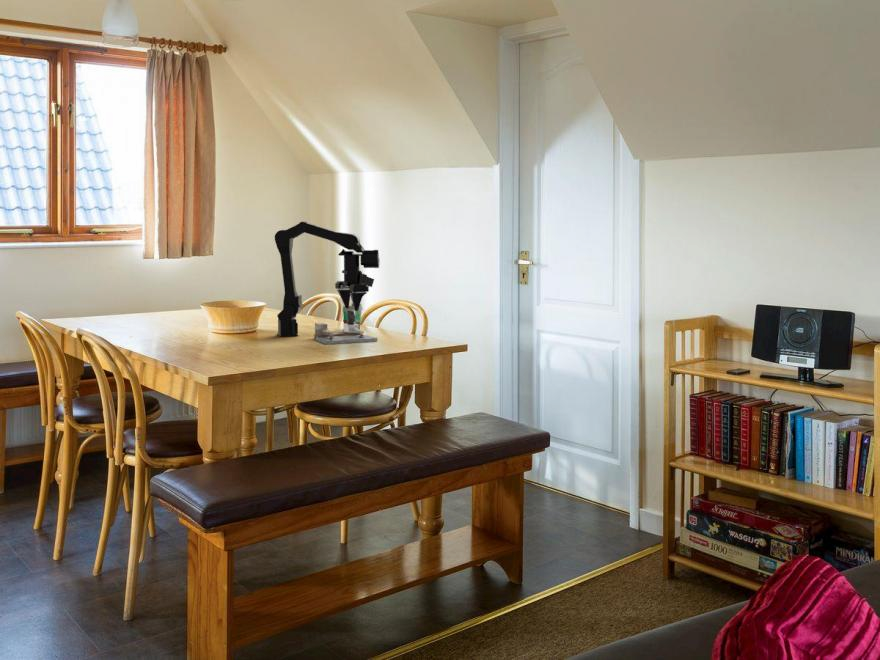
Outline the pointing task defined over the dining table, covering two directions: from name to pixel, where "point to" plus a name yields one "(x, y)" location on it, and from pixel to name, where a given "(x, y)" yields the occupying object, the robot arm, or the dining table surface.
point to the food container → (357, 314)
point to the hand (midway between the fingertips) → (351, 309)
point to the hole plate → (346, 339)
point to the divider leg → (352, 324)
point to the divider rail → (322, 331)
